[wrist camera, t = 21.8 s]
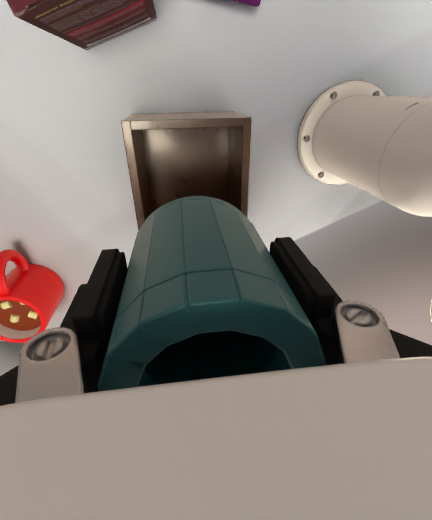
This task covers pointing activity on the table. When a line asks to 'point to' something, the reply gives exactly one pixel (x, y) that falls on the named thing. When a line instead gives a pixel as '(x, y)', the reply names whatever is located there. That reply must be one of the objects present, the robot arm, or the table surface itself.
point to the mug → (26, 298)
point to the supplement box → (85, 18)
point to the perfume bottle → (250, 2)
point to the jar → (204, 303)
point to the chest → (187, 158)
